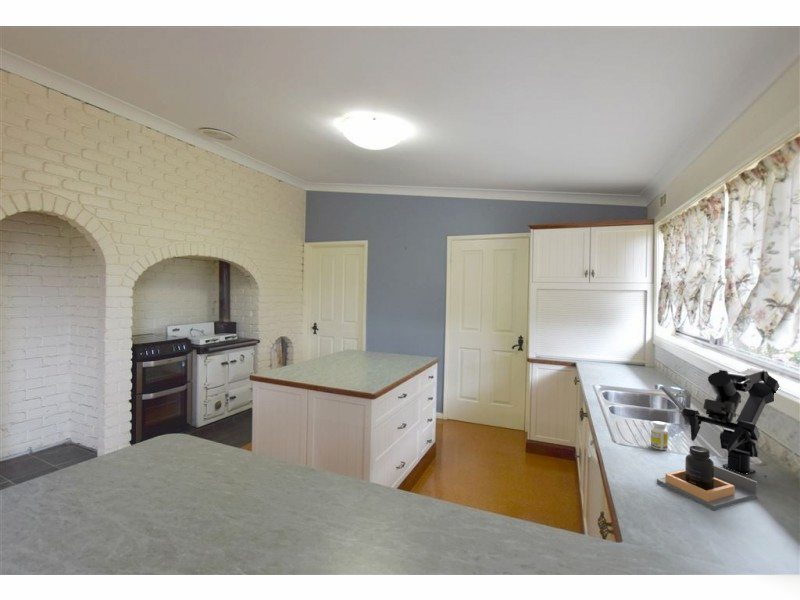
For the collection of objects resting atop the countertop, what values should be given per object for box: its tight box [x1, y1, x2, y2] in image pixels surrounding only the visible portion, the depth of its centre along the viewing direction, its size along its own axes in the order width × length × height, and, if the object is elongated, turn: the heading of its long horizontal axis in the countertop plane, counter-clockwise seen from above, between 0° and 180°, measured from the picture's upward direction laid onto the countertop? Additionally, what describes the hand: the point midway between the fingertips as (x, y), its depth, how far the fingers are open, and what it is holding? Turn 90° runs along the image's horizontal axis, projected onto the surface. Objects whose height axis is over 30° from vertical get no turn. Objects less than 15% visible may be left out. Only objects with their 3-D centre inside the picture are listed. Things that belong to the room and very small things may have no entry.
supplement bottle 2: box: [684, 445, 715, 491], centre depth 114 cm, size 7×7×12 cm
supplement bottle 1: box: [650, 420, 669, 451], centre depth 147 cm, size 5×5×10 cm
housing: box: [656, 464, 759, 511], centre depth 115 cm, size 20×16×5 cm
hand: (709, 445), depth 117 cm, fingers open, 9 cm apart
